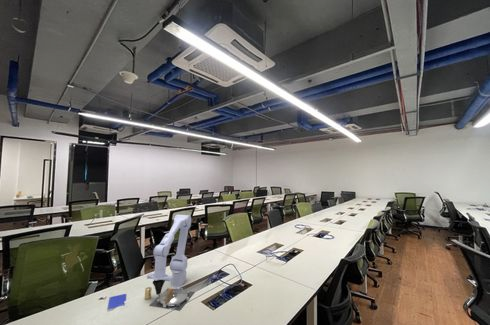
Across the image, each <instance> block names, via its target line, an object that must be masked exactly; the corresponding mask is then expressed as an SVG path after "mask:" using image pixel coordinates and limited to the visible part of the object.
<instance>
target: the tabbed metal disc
mask: <svg viewBox="0 0 490 325" xmlns="http://www.w3.org/2000/svg"><path fill="white" fill-rule="evenodd" d="M169 288H170V289H168V288H167V289H168V290H167V289H166V290H167V291H166V290H164V291H165V292H164V291H163V292H161V293H160V294H159V295H158V297H159V299H157V298H156V299H157V300H156V299H155V300H156V302H157V303H160V304H162V305H163V307H165V308H166V307H167V306H175V305H176V307H177V306H179V305H180V304H181V303H183V302H184V301H188V300H189V301H190V299H189V297H187V295H188V294H189V291H190V290H185V289H183V287H178V288H171V287H169ZM189 301H188V302H189ZM165 308H164V309H165Z"/></svg>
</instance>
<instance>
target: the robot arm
mask: <svg viewBox="0 0 490 325" xmlns="http://www.w3.org/2000/svg"><path fill="white" fill-rule="evenodd" d="M191 225H192V216H191V215H190V214H188V215H187V214H179V213H177V214H176V215H175V216H174V218H173V224H172V225H171V228H170V230H169V231H168V233H165V235H164V236H163V237H162V239H161V241H160V243H159V244H157V245H156V246H154V249H153V255H154V256H153V259H154V261H155V262H154V273H147V275H146V279H147V280H148V279H152V280H153V281H152V285H153V288H154V289H155V295H158V296H159V294H160V293H162V289H163V286H164V284H165V282H170V283H171V287H173V288H181V287H182V286H183V285H184V283H185V282H186V281H187V268H188V257H187V256H186V255H185V252H186V245H187V239H188V234H189V229H190V228H191ZM179 229H180V230H179ZM178 231H179V236H178V241H177V247H176V251H175V252H176V253H175V255H173V256H172V257H171V261H170V263H169V270H170V271H171V273H172V274H171V275H168V274H166V272H167V270H166V269H167V257H168V255H169V252H170V249H171V245H172V244H173V242H174V240H175V235H176V234H177V232H178Z"/></svg>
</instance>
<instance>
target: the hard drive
mask: <svg viewBox="0 0 490 325" xmlns="http://www.w3.org/2000/svg"><path fill="white" fill-rule="evenodd" d="M125 302H127V293H122V294H118V295H114V296H110V297H109V300H108V305H107V310H106V312H107V313H108V312H111V311H114V310H115V309H117V308H119V307H123V306H125V304H126V303H125Z"/></svg>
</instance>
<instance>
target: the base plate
mask: <svg viewBox="0 0 490 325" xmlns="http://www.w3.org/2000/svg"><path fill="white" fill-rule="evenodd" d="M170 288H171V287H167V288H166V289H165V290H164V291H163V292H165V291H167V290H168V289H170ZM188 291H189V294H188V295H187V297H189V300H188V301H184V302H183V303H181V304H180V305H179V306H177V307H176V305H175V306H167V307H166V308H165V307H163V305H162V304H160V303H157V302H156V300H157V299H159V296H158V297H156V299H154V301H152V302H151V303H150V304H149V305H148V307H153V308H158V309H159V308H161V309H164V310H165V309H166V310H172V311H178V312H181V311H182V309H183V308H184V307H185V306H186V304H188V302H189V301H190V299H191V298H192V297H193V296H194V295H195V293H196V291H191V290H188Z"/></svg>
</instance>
